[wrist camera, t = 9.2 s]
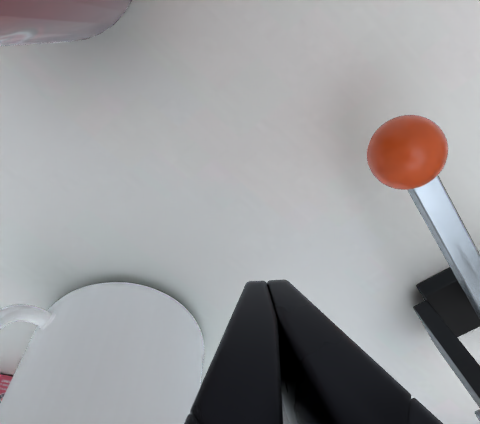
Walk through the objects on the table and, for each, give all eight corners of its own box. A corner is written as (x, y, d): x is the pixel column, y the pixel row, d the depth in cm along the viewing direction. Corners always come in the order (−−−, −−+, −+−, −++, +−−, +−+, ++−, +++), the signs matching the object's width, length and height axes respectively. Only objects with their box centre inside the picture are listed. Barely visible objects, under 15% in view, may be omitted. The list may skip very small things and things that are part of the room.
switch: (346, 138, 16) (366, 147, 13) (407, 99, 16) (442, 99, 13) (503, 408, 20) (544, 459, 17) (557, 385, 20) (608, 434, 17)
